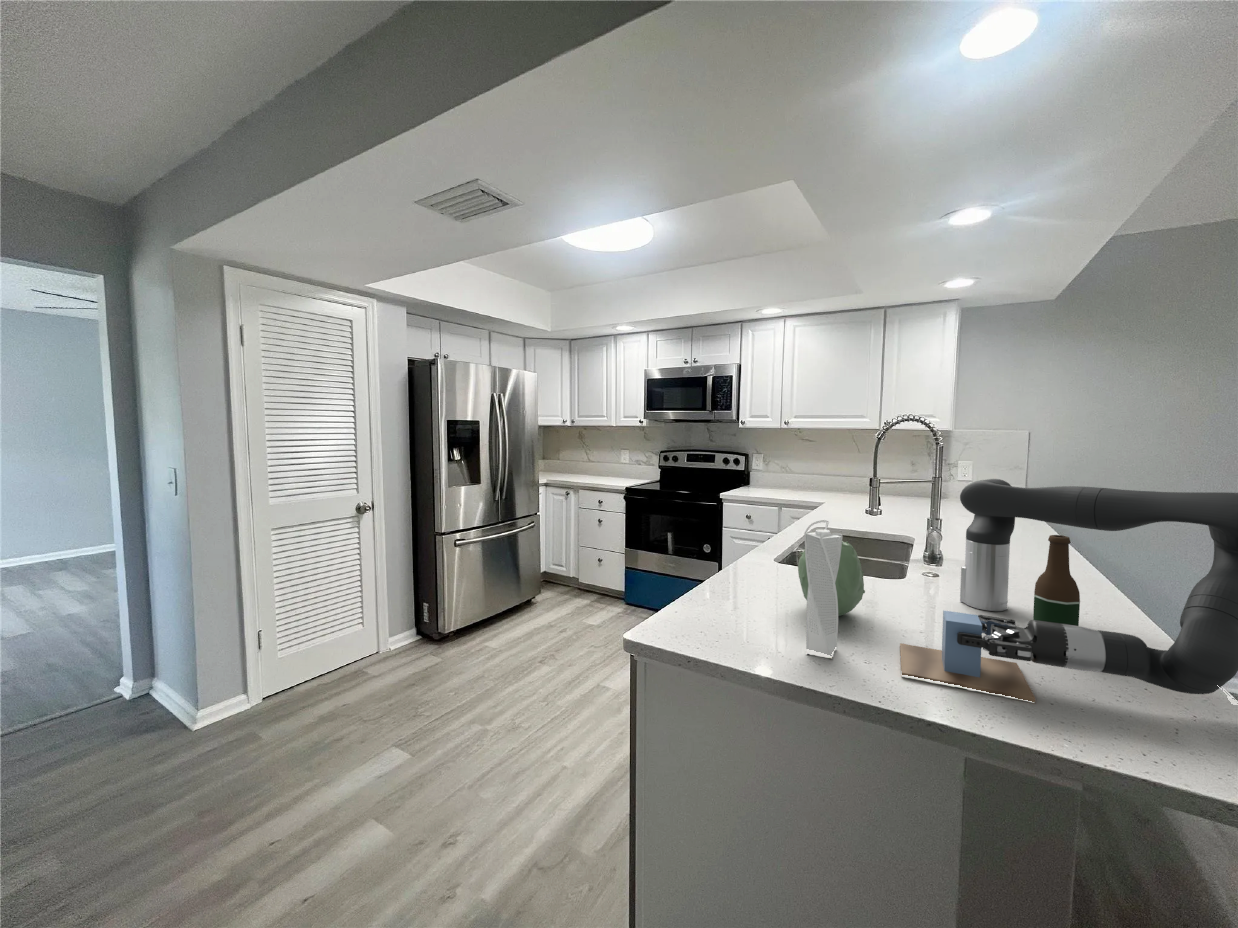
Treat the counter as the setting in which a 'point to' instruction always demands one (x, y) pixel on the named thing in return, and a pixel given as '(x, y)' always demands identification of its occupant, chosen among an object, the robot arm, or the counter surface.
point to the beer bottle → (1057, 587)
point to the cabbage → (841, 579)
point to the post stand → (992, 675)
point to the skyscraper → (822, 588)
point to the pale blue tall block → (955, 654)
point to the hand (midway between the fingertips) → (954, 629)
